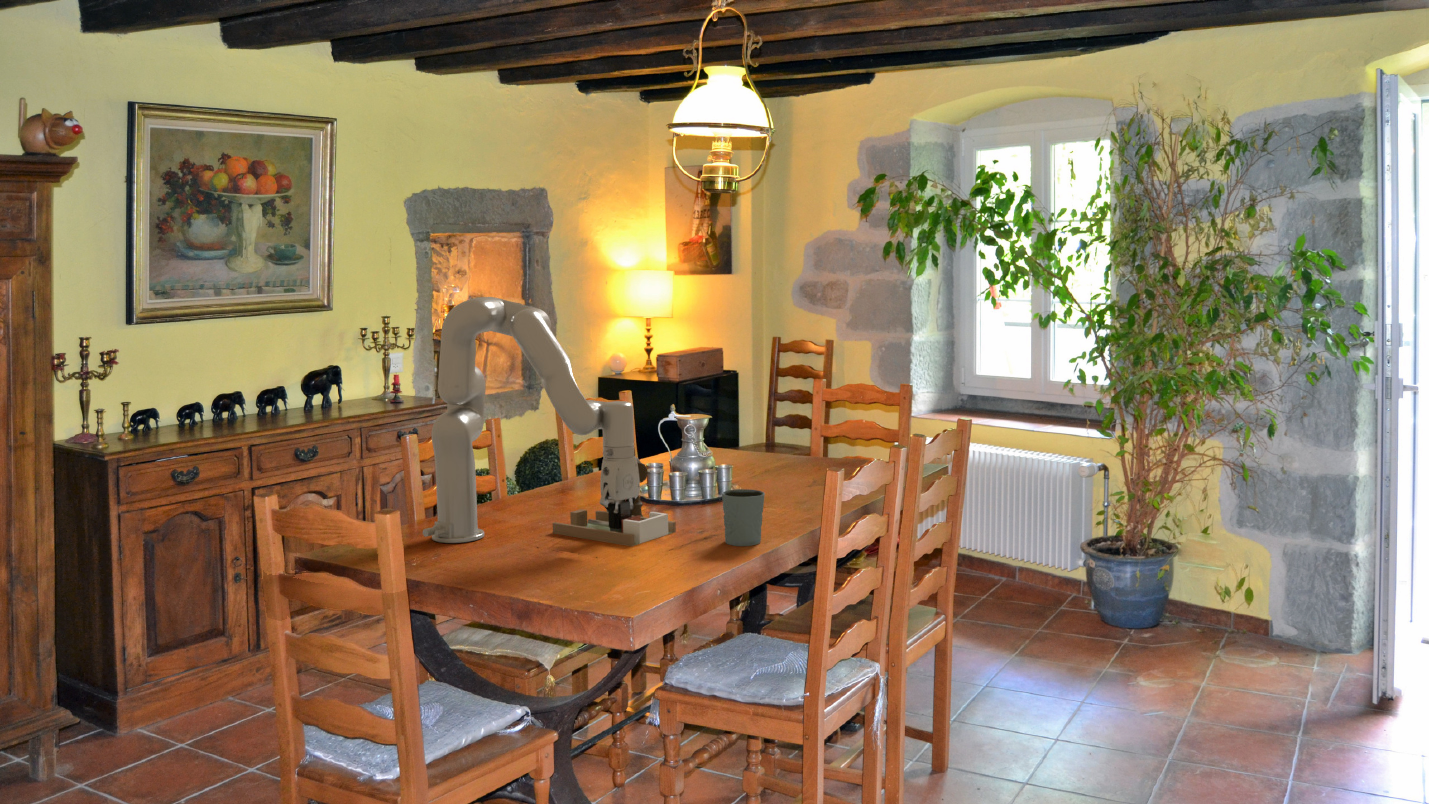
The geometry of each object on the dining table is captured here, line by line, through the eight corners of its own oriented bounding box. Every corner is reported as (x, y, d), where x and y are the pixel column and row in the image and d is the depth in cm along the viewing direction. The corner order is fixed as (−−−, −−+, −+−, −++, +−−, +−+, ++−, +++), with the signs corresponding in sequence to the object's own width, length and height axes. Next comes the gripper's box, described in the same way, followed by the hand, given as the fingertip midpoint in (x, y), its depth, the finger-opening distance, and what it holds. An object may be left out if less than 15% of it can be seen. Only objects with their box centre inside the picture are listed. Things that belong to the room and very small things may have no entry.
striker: (625, 536, 275) (624, 506, 274) (581, 529, 283) (580, 500, 283) (640, 531, 280) (640, 502, 279) (597, 524, 288) (596, 496, 287)
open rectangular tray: (632, 551, 267) (631, 525, 267) (553, 537, 282) (552, 512, 281) (675, 536, 281) (675, 511, 280) (598, 524, 295) (597, 500, 295)
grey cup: (714, 543, 274) (713, 493, 273) (739, 534, 282) (738, 486, 281) (748, 549, 268) (747, 498, 267) (773, 540, 276) (772, 491, 274)
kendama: (642, 517, 304) (640, 442, 301) (650, 524, 294) (648, 447, 292) (619, 518, 302) (618, 443, 300) (627, 526, 293) (625, 449, 290)
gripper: (608, 458, 269) (610, 535, 271) (652, 449, 282) (653, 522, 285) (584, 456, 273) (586, 531, 275) (628, 446, 287) (629, 518, 289)
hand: (620, 525), depth 280 cm, fingers closed on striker, 3 cm apart
